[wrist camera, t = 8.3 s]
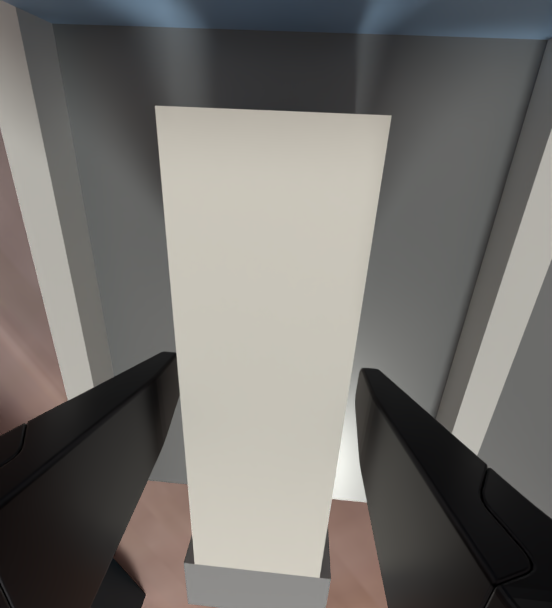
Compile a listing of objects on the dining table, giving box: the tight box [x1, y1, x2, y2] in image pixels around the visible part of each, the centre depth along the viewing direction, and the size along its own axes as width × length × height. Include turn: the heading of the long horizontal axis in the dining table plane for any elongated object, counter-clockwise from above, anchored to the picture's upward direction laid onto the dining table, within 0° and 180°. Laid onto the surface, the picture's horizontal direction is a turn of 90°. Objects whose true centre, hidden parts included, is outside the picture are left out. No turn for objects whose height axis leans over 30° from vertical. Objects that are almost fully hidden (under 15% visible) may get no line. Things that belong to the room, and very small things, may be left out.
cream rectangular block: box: [155, 106, 392, 608], centre depth 10 cm, size 13×4×4 cm, turn 178°
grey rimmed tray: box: [0, 0, 552, 519], centre depth 10 cm, size 17×26×4 cm, turn 87°
